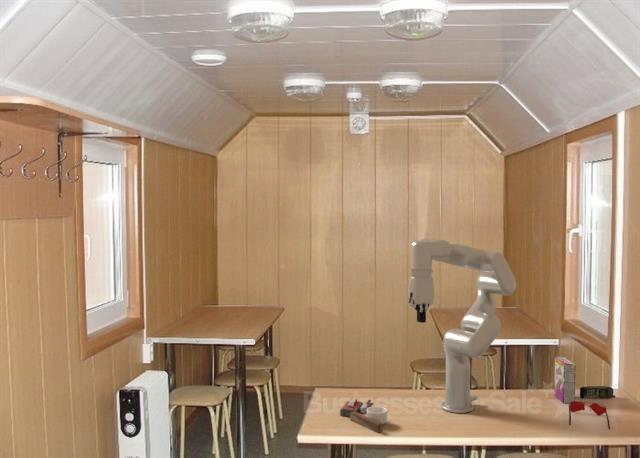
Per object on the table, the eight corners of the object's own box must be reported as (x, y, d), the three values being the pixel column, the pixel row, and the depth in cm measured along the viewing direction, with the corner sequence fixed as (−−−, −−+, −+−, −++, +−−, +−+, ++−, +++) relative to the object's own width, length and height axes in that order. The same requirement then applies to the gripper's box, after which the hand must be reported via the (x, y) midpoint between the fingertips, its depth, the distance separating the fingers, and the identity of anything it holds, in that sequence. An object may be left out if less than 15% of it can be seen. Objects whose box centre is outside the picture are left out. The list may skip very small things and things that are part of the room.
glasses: (606, 415, 253) (606, 403, 253) (610, 430, 238) (610, 417, 238) (567, 412, 258) (568, 399, 258) (569, 426, 243) (569, 413, 242)
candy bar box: (553, 395, 278) (554, 357, 277) (565, 395, 278) (566, 357, 277) (563, 404, 266) (563, 364, 265) (575, 403, 266) (576, 364, 265)
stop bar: (354, 419, 250) (354, 411, 249) (381, 431, 236) (381, 423, 236) (350, 420, 248) (350, 412, 248) (377, 432, 235) (377, 424, 235)
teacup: (386, 428, 240) (386, 413, 240) (365, 427, 241) (365, 412, 241) (388, 418, 250) (388, 405, 249) (368, 417, 251) (368, 403, 251)
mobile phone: (581, 388, 272) (617, 386, 273) (578, 386, 275) (614, 384, 276) (581, 399, 273) (617, 398, 273) (578, 397, 276) (614, 396, 276)
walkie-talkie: (360, 420, 250) (372, 403, 269) (360, 408, 249) (372, 393, 268) (338, 417, 252) (351, 401, 271) (338, 406, 252) (351, 391, 271)
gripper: (428, 271, 254) (428, 318, 255) (399, 274, 246) (399, 322, 247) (443, 273, 248) (442, 321, 249) (413, 276, 239) (413, 326, 241)
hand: (421, 321), depth 248 cm, fingers closed
